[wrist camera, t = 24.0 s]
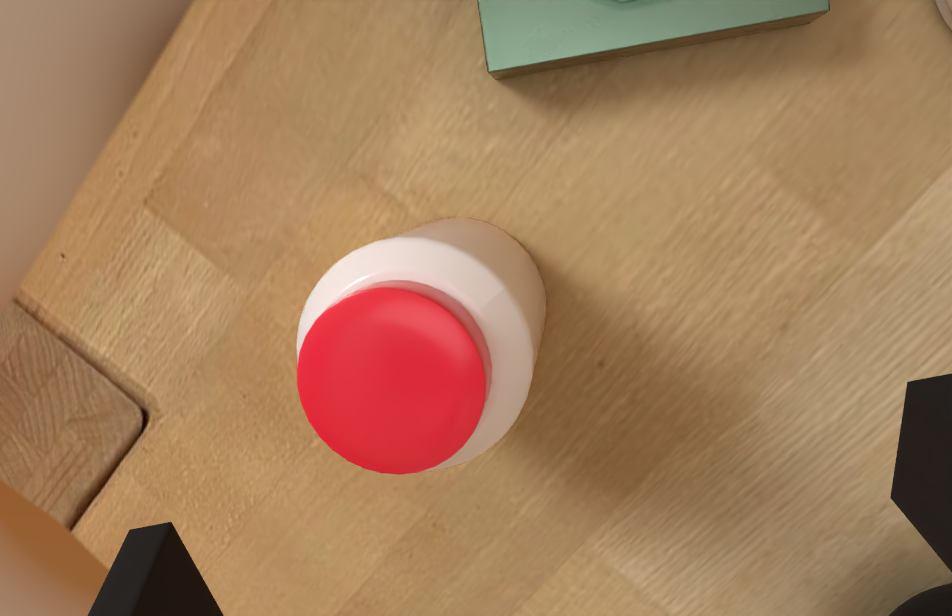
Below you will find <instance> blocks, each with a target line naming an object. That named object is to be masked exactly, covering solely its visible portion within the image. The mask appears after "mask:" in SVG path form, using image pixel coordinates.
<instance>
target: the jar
mask: <svg viewBox="0 0 952 616" xmlns="http://www.w3.org/2000/svg"><path fill="white" fill-rule="evenodd" d="M935 2H936V4H937V7H938V9H939V11H940V13H941V15H942V16H943V18H944V20H945V22H946V23H947V25H948V26H949V28H950V29H951V31H952V0H935Z"/></svg>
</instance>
